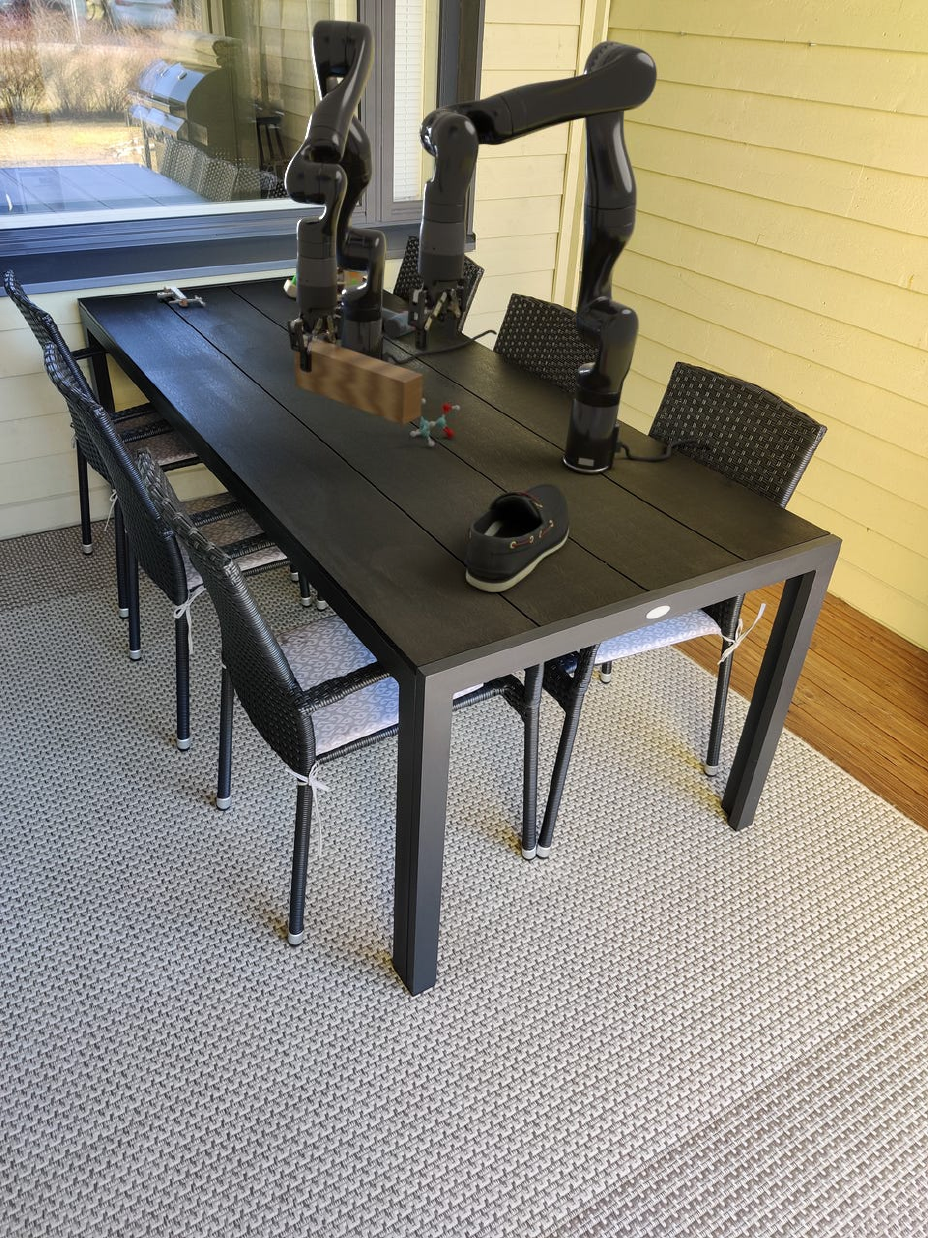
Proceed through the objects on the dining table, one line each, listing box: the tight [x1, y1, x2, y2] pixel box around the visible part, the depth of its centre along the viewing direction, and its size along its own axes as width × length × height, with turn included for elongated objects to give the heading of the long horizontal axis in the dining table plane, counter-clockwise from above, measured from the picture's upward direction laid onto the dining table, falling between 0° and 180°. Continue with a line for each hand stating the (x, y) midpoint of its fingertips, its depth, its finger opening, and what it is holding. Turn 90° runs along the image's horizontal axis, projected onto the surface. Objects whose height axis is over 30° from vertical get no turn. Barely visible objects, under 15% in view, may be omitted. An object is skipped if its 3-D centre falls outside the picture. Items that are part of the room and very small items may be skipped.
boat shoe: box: [464, 483, 570, 593], centre depth 168 cm, size 13×33×10 cm, turn 147°
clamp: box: [156, 285, 207, 307], centre depth 265 cm, size 15×2×10 cm
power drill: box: [381, 306, 435, 339], centre depth 263 cm, size 5×19×20 cm
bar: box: [293, 338, 424, 426], centre depth 185 cm, size 26×6×8 cm, turn 56°
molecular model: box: [409, 397, 461, 448], centre depth 203 cm, size 12×10×10 cm
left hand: (317, 366), depth 190 cm, fingers closed on bar, 5 cm apart
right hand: (435, 344), depth 170 cm, fingers open, 8 cm apart
